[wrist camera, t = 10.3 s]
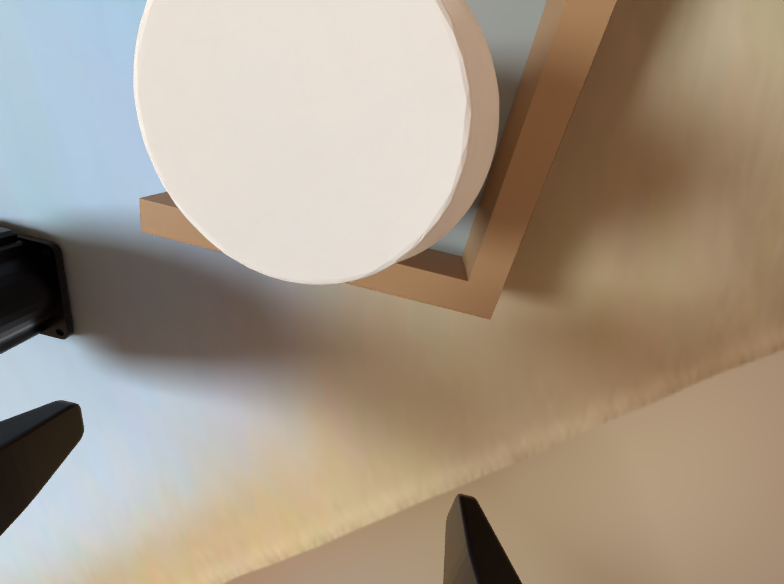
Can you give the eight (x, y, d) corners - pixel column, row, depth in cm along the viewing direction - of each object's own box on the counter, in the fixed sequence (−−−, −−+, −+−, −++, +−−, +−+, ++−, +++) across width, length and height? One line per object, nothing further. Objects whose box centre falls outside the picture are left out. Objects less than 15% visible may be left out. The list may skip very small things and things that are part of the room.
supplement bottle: (346, 221, 19) (208, 378, 7) (291, 78, 16) (-65, -56, 4) (477, 178, 17) (587, 281, 5) (438, 15, 15) (483, -419, 3)
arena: (478, 285, 20) (490, 319, 17) (193, 213, 20) (141, 231, 16) (595, -34, 14) (651, -89, 11) (195, -140, 14) (115, -233, 11)
